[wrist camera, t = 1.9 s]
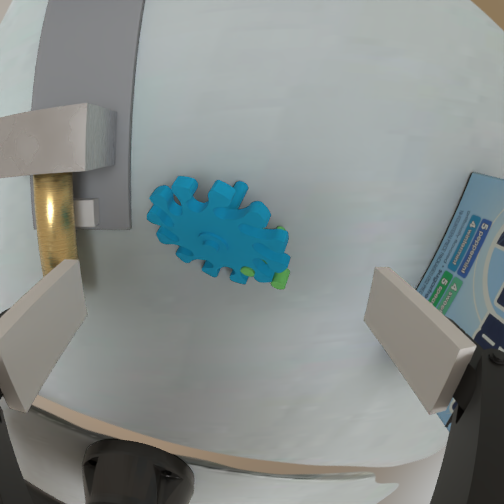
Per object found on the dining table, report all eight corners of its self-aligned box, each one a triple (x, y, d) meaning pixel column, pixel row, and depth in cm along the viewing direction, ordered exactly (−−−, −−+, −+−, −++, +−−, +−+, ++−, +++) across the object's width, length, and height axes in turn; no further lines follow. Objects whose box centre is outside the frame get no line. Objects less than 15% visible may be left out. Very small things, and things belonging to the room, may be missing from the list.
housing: (131, 227, 24) (116, 242, 20) (37, 227, 23) (13, 240, 19) (153, -43, 17) (144, -67, 13) (58, -25, 16) (40, -42, 12)
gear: (123, 227, 22) (183, 165, 15) (161, 173, 26) (230, 103, 18) (235, 305, 27) (329, 286, 19) (258, 249, 30) (346, 215, 22)
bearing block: (118, 164, 23) (85, 171, 16) (33, 169, 22) (-13, 179, 16) (119, 112, 21) (87, 102, 15) (34, 122, 20) (-12, 120, 14)
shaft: (89, 294, 23) (75, 312, 21) (58, 292, 23) (42, 309, 20) (79, 126, 19) (61, 124, 17) (46, 130, 19) (25, 129, 16)
